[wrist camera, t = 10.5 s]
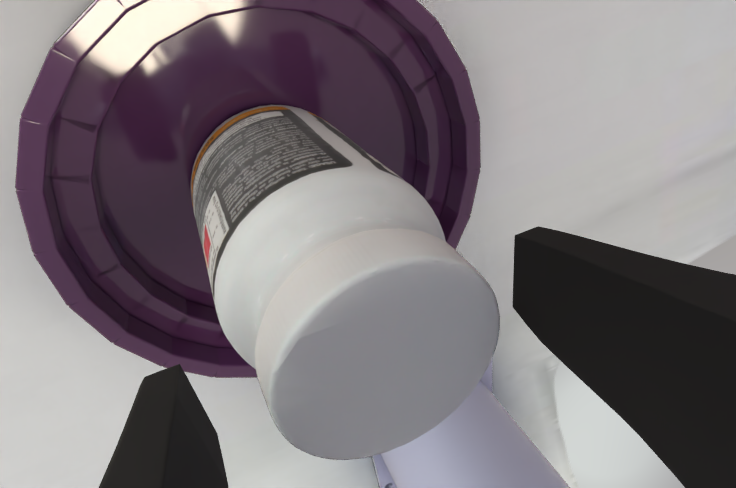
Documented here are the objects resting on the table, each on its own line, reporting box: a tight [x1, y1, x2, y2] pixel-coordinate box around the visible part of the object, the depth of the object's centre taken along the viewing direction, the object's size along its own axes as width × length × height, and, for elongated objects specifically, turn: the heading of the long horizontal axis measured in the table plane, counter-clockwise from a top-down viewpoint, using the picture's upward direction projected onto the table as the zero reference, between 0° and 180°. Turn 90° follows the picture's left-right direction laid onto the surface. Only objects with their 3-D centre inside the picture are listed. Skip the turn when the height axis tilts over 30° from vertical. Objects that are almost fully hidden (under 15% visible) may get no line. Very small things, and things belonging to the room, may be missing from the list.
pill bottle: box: [191, 105, 500, 460], centre depth 12 cm, size 6×6×10 cm
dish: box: [15, 0, 481, 378], centre depth 16 cm, size 14×14×3 cm
